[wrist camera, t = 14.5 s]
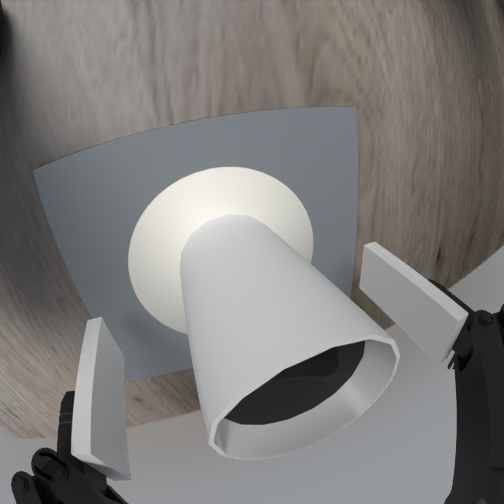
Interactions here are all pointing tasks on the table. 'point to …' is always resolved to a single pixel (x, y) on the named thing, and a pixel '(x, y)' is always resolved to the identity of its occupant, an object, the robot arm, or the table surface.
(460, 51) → the table surface
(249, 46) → the table surface
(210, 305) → the white cup
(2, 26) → the coffee jar
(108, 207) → the board
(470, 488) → the robot arm
